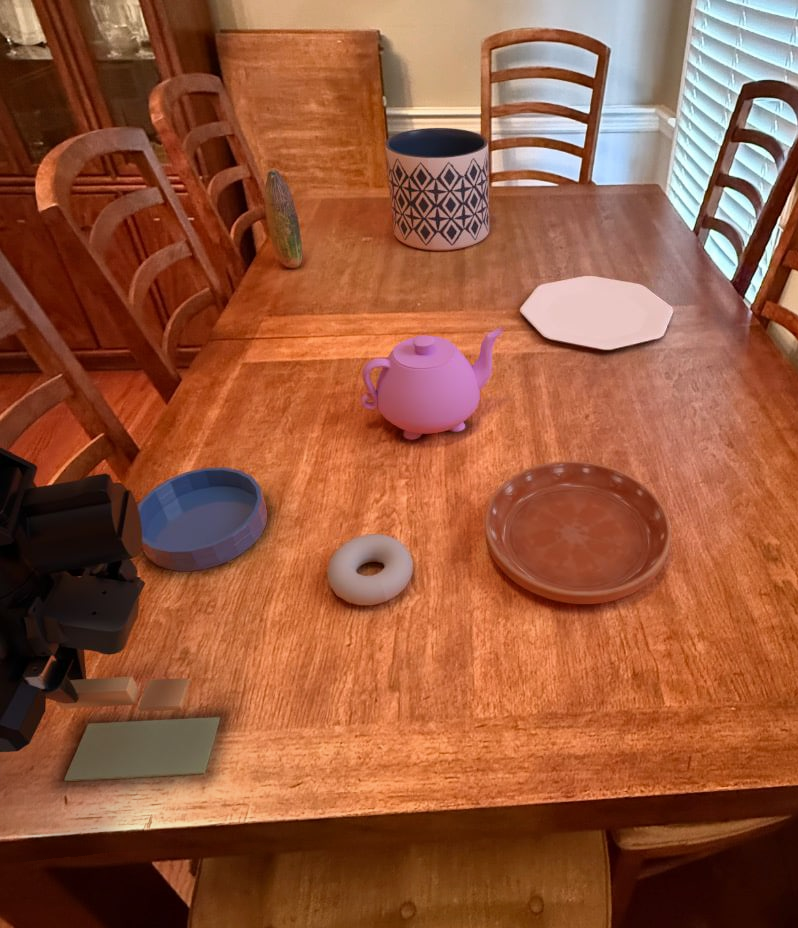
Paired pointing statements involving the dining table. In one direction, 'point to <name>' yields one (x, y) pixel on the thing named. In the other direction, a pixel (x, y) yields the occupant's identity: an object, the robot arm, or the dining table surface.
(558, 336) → the plate
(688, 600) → the dining table surface
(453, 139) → the planter
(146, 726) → the mat
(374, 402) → the teapot
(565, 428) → the dining table surface
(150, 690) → the beige slabs
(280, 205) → the vegetable
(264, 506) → the bowl
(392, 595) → the donut
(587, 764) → the dining table surface
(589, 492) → the saucer
